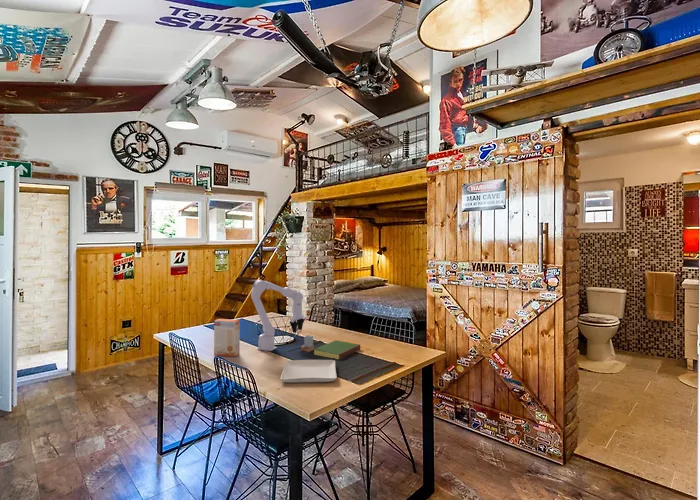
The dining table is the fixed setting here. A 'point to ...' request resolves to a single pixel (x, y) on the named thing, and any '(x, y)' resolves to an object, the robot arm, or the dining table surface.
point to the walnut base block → (307, 348)
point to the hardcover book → (336, 349)
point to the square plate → (309, 371)
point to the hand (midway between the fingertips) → (297, 331)
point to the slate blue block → (308, 341)
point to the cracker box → (227, 337)
